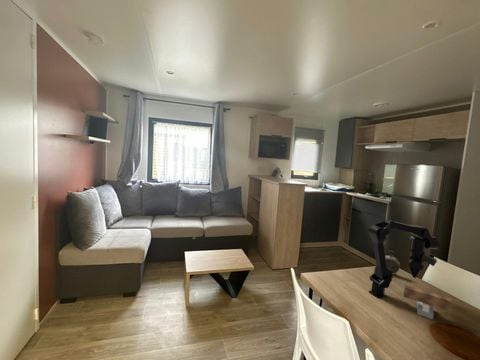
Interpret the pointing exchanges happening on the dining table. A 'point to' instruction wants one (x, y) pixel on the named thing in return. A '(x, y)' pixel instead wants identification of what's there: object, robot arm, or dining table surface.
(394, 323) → the dining table surface
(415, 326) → the dining table surface
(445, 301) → the walnut bar
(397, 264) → the alarm clock
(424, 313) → the ridge stand
